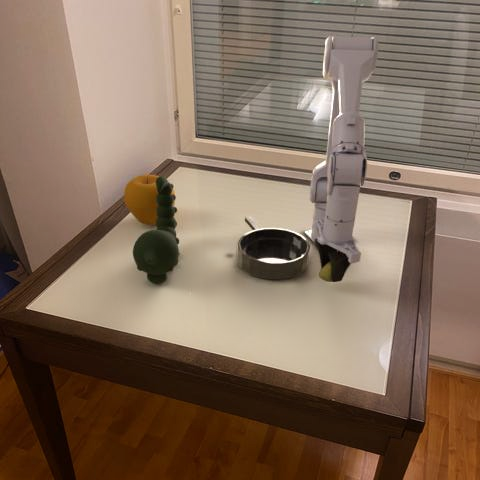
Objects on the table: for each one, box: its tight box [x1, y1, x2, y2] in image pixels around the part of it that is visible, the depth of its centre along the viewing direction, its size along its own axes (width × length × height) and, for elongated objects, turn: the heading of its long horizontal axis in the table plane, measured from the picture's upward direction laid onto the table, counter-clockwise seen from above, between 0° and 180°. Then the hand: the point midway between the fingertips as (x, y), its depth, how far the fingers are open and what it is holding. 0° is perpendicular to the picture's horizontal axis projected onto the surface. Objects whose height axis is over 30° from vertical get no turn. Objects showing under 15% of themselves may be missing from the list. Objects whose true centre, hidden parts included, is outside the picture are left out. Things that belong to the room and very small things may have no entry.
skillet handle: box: [244, 215, 264, 234], centre depth 120 cm, size 2×8×1 cm, turn 21°
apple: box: [123, 174, 176, 226], centre depth 127 cm, size 13×13×11 cm
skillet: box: [236, 227, 311, 280], centre depth 113 cm, size 16×16×4 cm
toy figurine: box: [132, 175, 181, 284], centre depth 107 cm, size 9×19×25 cm
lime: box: [318, 261, 333, 283], centre depth 104 cm, size 4×5×5 cm
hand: (331, 275), depth 104 cm, fingers closed on lime, 3 cm apart
